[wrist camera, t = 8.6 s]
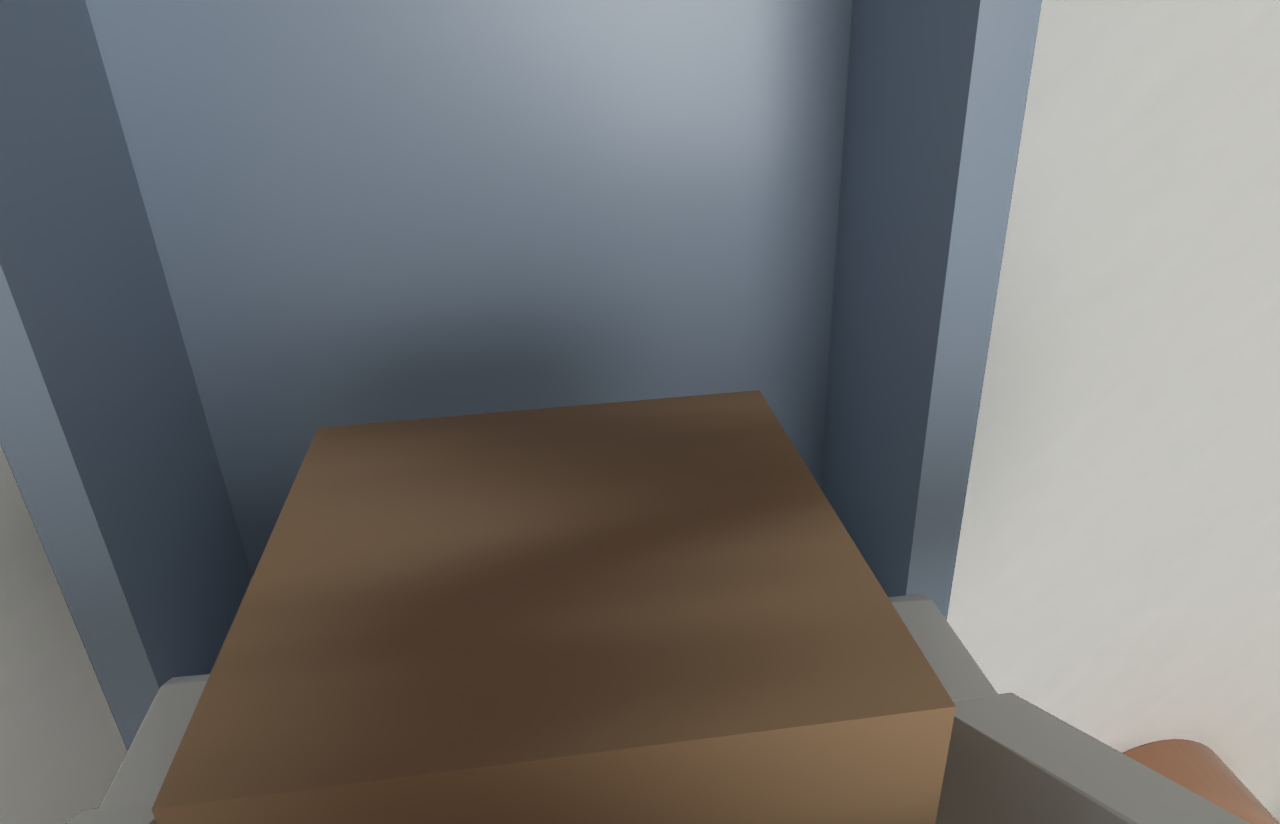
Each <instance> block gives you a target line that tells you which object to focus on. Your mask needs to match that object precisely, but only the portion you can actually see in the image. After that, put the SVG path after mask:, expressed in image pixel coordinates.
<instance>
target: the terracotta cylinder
mask: <svg viewBox="0 0 1280 824" xmlns="http://www.w3.org/2000/svg"><path fill="white" fill-rule="evenodd" d="M1123 754H1124V755H1126V756H1128V757H1130V758H1132V759H1134V760H1135V761H1137V762H1139V763H1141V764H1143V765H1144V766H1146V767H1148V768H1150V769H1152V770H1154V771H1155V772H1157V773H1159V774H1161V775H1163V776H1165V777H1166V778H1168V779H1170V780H1172V781H1174V782H1176V783H1177V784H1179V785H1181V786H1183V787H1185V788H1187V789H1188V790H1190V791H1192V792H1194V793H1196V794H1197V795H1199V796H1201V797H1203V798H1205V799H1207V800H1208V801H1210V802H1212V803H1214V804H1216V805H1218V806H1219V807H1221V808H1223V809H1225V810H1227V811H1229V812H1230V813H1232V814H1234V815H1236V816H1238V817H1239V818H1241V819H1243V820H1245V821H1247V822H1249V823H1250V824H1280V823H1279V822H1278V821H1277V820H1276V819H1275V818H1274V817H1273V816H1272V815H1271V814H1270V812H1269V811H1268V810H1267V809H1266V808H1265V807H1264V806H1263V805H1262V804H1261V803H1260V802H1259V801H1258V799H1257V798H1256V797H1255V796H1254V795H1253V794H1252V793H1251V792H1250V791H1249V790H1248V789H1247V787H1246V786H1245V785H1244V784H1243V783H1242V782H1241V781H1240V780H1239V779H1238V778H1237V777H1236V776H1235V774H1234V773H1233V772H1232V771H1231V770H1230V769H1229V768H1228V767H1227V766H1226V765H1225V764H1224V763H1223V761H1222V760H1221V759H1220V758H1219V757H1218V756H1217V755H1216V754H1215V753H1214V752H1213V751H1212V750H1211V749H1210V748H1208V747H1207V746H1205V745H1203V744H1200V743H1197V742H1194V741H1189V740H1162V741H1157V742H1152V743H1148V744H1145V745H1141V746H1139V747H1136V748H1133V749H1131V750H1129V751H1126V752H1124V753H1123Z"/></svg>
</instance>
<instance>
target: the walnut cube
mask: <svg viewBox="0 0 1280 824" xmlns="http://www.w3.org/2000/svg"><path fill="white" fill-rule="evenodd" d="M955 709H956V706H955V704H954V703H953V701H952V699H951V698H950V696H949V694H948V693H947V691H946V690H945V688H944V686H943V685H942V683H941V682H940V680H939V678H938V677H937V675H936V674H935V672H934V670H933V669H932V667H931V665H930V664H929V662H928V661H927V659H926V657H925V656H924V654H923V653H922V651H921V649H920V648H919V646H918V645H917V643H916V641H915V640H914V638H913V636H912V635H911V633H910V632H909V630H908V628H907V627H906V625H905V624H904V622H903V620H902V619H901V617H900V616H899V614H898V612H897V611H896V609H895V608H894V606H893V604H892V603H891V601H890V599H889V598H888V596H887V595H886V593H885V591H884V590H883V588H882V587H881V585H880V583H879V582H878V580H877V579H876V577H875V575H874V574H873V572H872V570H871V569H870V567H869V566H868V564H867V562H866V561H865V559H864V558H863V556H862V554H861V553H860V551H859V550H858V548H857V546H856V545H855V543H854V541H853V540H852V538H851V537H850V535H849V533H848V532H847V530H846V529H845V527H844V525H843V524H842V522H841V521H840V519H839V517H838V516H837V514H836V512H835V511H834V509H833V508H832V506H831V504H830V503H829V501H828V500H827V498H826V496H825V495H824V493H823V492H822V490H821V488H820V487H819V485H818V484H817V482H816V480H815V479H814V477H813V475H812V474H811V472H810V471H809V469H808V467H807V466H806V464H805V463H804V461H803V459H802V458H801V456H800V455H799V453H798V451H797V450H796V448H795V446H794V445H793V443H792V442H791V440H790V438H789V437H788V435H787V434H786V432H785V430H784V429H783V427H782V426H781V424H780V422H779V421H778V419H777V417H776V416H775V414H774V413H773V411H772V409H771V408H770V406H769V405H768V403H767V401H766V400H765V398H764V397H763V395H762V393H761V392H760V390H755V391H743V392H731V393H719V394H708V395H696V396H684V397H672V398H661V399H649V400H637V401H625V402H613V403H602V404H590V405H578V406H566V407H555V408H543V409H531V410H519V411H507V412H496V413H484V414H472V415H460V416H449V417H437V418H425V419H413V420H402V421H390V422H378V423H366V424H354V425H343V426H331V427H319V428H317V430H316V432H315V435H314V437H313V439H312V442H311V444H310V446H309V448H308V451H307V453H306V455H305V458H304V460H303V462H302V464H301V467H300V469H299V471H298V474H297V476H296V478H295V481H294V483H293V485H292V487H291V490H290V492H289V494H288V497H287V499H286V501H285V504H284V506H283V508H282V510H281V513H280V515H279V517H278V520H277V522H276V524H275V527H274V529H273V531H272V533H271V536H270V538H269V540H268V543H267V545H266V547H265V550H264V552H263V554H262V556H261V559H260V561H259V563H258V566H257V568H256V570H255V573H254V575H253V577H252V579H251V582H250V584H249V586H248V589H247V591H246V593H245V595H244V598H243V600H242V602H241V605H240V607H239V609H238V612H237V614H236V616H235V618H234V621H233V623H232V625H231V628H230V630H229V632H228V635H227V637H226V639H225V641H224V644H223V646H222V648H221V651H220V653H219V655H218V658H217V660H216V662H215V664H214V667H213V669H212V671H211V674H210V676H209V678H208V681H207V683H206V685H205V687H204V690H203V692H202V694H201V697H200V699H199V701H198V704H197V706H196V708H195V710H194V713H193V715H192V717H191V720H190V722H189V724H188V726H187V729H186V731H185V733H184V736H183V738H182V740H181V743H180V745H179V747H178V749H177V752H176V754H175V756H174V759H173V761H172V763H171V766H170V768H169V770H168V772H167V775H166V777H165V779H164V782H163V784H162V786H161V789H160V791H159V793H158V795H157V798H156V800H155V802H154V805H153V807H152V809H151V810H152V813H153V815H154V818H155V820H156V823H157V824H935V822H936V817H937V811H938V805H939V800H940V794H941V788H942V783H943V777H944V771H945V766H946V760H947V754H948V749H949V743H950V737H951V732H952V726H953V721H954V715H955Z"/></svg>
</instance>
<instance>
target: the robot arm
mask: <svg viewBox="0 0 1280 824" xmlns="http://www.w3.org/2000/svg"><path fill="white" fill-rule="evenodd" d="M889 599H890V601H891V603H892V604H893V606H894V608H895V609H896V611H897V612H898V614H899V616H900V617H901V619H902V620H903V622H904V624H905V625H906V627H907V628H908V630H909V632H910V633H911V635H912V636H913V638H914V640H915V641H916V643H917V645H918V646H919V648H920V649H921V651H922V653H923V654H924V656H925V657H926V659H927V661H928V662H929V664H930V665H931V667H932V669H933V670H934V672H935V674H936V675H937V677H938V678H939V680H940V682H941V683H942V685H943V686H944V688H945V690H946V691H947V693H948V694H949V696H950V698H951V699H952V701H953V703H954V704H955V706H956V709H955V715H954V721H953V726H952V732H951V737H950V743H949V749H948V754H947V760H946V766H945V771H944V777H943V783H942V788H941V794H940V800H939V805H938V811H937V817H936V822H935V824H1250V823H1249V822H1247V821H1245V820H1243V819H1241V818H1239V817H1238V816H1236V815H1234V814H1232V813H1230V812H1229V811H1227V810H1225V809H1223V808H1221V807H1219V806H1218V805H1216V804H1214V803H1212V802H1210V801H1208V800H1207V799H1205V798H1203V797H1201V796H1199V795H1197V794H1196V793H1194V792H1192V791H1190V790H1188V789H1187V788H1185V787H1183V786H1181V785H1179V784H1177V783H1176V782H1174V781H1172V780H1170V779H1168V778H1166V777H1165V776H1163V775H1161V774H1159V773H1157V772H1155V771H1154V770H1152V769H1150V768H1148V767H1146V766H1144V765H1143V764H1141V763H1139V762H1137V761H1135V760H1134V759H1132V758H1130V757H1128V756H1126V755H1124V754H1123V753H1121V752H1119V751H1117V750H1115V749H1113V748H1112V747H1110V746H1108V745H1106V744H1104V743H1102V742H1101V741H1099V740H1097V739H1095V738H1093V737H1091V736H1090V735H1088V734H1086V733H1084V732H1082V731H1081V730H1079V729H1077V728H1075V727H1073V726H1071V725H1070V724H1068V723H1066V722H1064V721H1062V720H1060V719H1059V718H1057V717H1055V716H1053V715H1051V714H1049V713H1048V712H1046V711H1044V710H1042V709H1040V708H1039V707H1037V706H1035V705H1033V704H1031V703H1029V702H1028V701H1026V700H1024V699H1022V698H1020V697H1018V696H1017V695H1015V694H1013V693H1005V694H998V693H997V692H996V690H995V689H994V687H993V686H992V684H991V683H990V682H989V680H988V679H987V677H986V676H985V674H984V673H983V672H982V670H981V669H980V667H979V666H978V665H977V663H976V662H975V660H974V659H973V657H972V656H971V655H970V653H969V652H968V650H967V649H966V648H965V646H964V645H963V643H962V642H961V640H960V639H959V638H958V636H957V635H956V633H955V632H954V630H953V629H952V628H951V626H950V625H949V623H948V622H947V621H946V619H945V618H944V616H943V615H942V613H941V612H940V611H939V609H938V608H937V606H936V605H935V604H934V602H933V601H932V599H931V598H930V597H928V596H926V595H925V594H923V593H919V594H911V595H904V596H897V597H889ZM209 676H210V674H205V675H194V676H184V677H173V678H171V679H170V680H169V681H167V682H166V683H165V684H163V685H162V686H161V687H160V689H159V691H158V692H157V694H156V696H155V698H154V700H153V702H152V704H151V706H150V708H149V710H148V712H147V714H146V716H145V718H144V720H143V722H142V724H141V726H140V728H139V730H138V732H137V734H136V736H135V738H134V740H133V742H132V744H131V746H130V748H129V750H128V752H127V754H126V756H125V758H124V760H123V762H122V763H121V765H120V767H119V769H118V771H117V773H116V775H115V777H114V779H113V781H112V783H111V785H110V787H109V789H108V791H107V793H106V795H105V797H104V799H103V801H102V803H101V805H100V807H99V808H96V809H89V810H82V811H81V812H80V813H79V814H77V815H76V816H75V817H74V818H72V819H71V820H70V821H69V822H67V823H66V824H157V823H156V820H155V818H154V815H153V813H152V810H151V809H152V807H153V805H154V802H155V800H156V798H157V795H158V793H159V791H160V789H161V786H162V784H163V782H164V779H165V777H166V775H167V772H168V770H169V768H170V766H171V763H172V761H173V759H174V756H175V754H176V752H177V749H178V747H179V745H180V743H181V740H182V738H183V736H184V733H185V731H186V729H187V726H188V724H189V722H190V720H191V717H192V715H193V713H194V710H195V708H196V706H197V704H198V701H199V699H200V697H201V694H202V692H203V690H204V687H205V685H206V683H207V681H208V678H209Z"/></svg>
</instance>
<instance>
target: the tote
mask: <svg viewBox="0 0 1280 824" xmlns="http://www.w3.org/2000/svg"><path fill="white" fill-rule="evenodd" d="M1041 3H1042V0H0V444H1V446H2V448H3V451H4V453H5V456H6V458H7V460H8V463H9V465H10V468H11V470H12V473H13V475H14V477H15V480H16V482H17V485H18V487H19V490H20V492H21V494H22V497H23V499H24V502H25V504H26V506H27V509H28V511H29V514H30V516H31V519H32V521H33V523H34V526H35V528H36V531H37V533H38V535H39V538H40V540H41V543H42V545H43V548H44V550H45V552H46V555H47V557H48V560H49V562H50V565H51V567H52V569H53V572H54V574H55V577H56V579H57V581H58V584H59V586H60V589H61V591H62V594H63V596H64V598H65V601H66V603H67V606H68V608H69V610H70V613H71V615H72V618H73V620H74V623H75V625H76V627H77V630H78V632H79V635H80V637H81V639H82V642H83V644H84V647H85V649H86V652H87V654H88V656H89V659H90V661H91V664H92V666H93V669H94V671H95V673H96V676H97V678H98V681H99V683H100V685H101V688H102V690H103V693H104V695H105V698H106V700H107V702H108V705H109V707H110V710H111V712H112V714H113V717H114V719H115V722H116V724H117V727H118V729H119V731H120V734H121V736H122V739H123V741H124V744H125V746H126V748H127V751H128V750H129V748H130V746H131V744H132V742H133V740H134V738H135V736H136V734H137V732H138V730H139V728H140V726H141V724H142V722H143V720H144V718H145V716H146V714H147V712H148V710H149V708H150V706H151V704H152V702H153V700H154V698H155V696H156V694H157V692H158V691H159V689H160V687H161V686H162V685H163V684H165V683H166V682H167V681H169V680H170V679H171V678H173V677H184V676H194V675H205V674H211V671H212V669H213V667H214V664H215V662H216V660H217V658H218V655H219V653H220V651H221V648H222V646H223V644H224V641H225V639H226V637H227V635H228V632H229V630H230V628H231V625H232V623H233V621H234V618H235V616H236V614H237V612H238V609H239V607H240V605H241V602H242V600H243V598H244V595H245V593H246V591H247V589H248V586H249V584H250V582H251V579H252V577H253V575H254V573H255V570H256V568H257V566H258V563H259V561H260V559H261V556H262V554H263V552H264V550H265V547H266V545H267V543H268V540H269V538H270V536H271V533H272V531H273V529H274V527H275V524H276V522H277V520H278V517H279V515H280V513H281V510H282V508H283V506H284V504H285V501H286V499H287V497H288V494H289V492H290V490H291V487H292V485H293V483H294V481H295V478H296V476H297V474H298V471H299V469H300V467H301V464H302V462H303V460H304V458H305V455H306V453H307V451H308V448H309V446H310V444H311V442H312V439H313V437H314V435H315V432H316V430H317V428H319V427H331V426H343V425H354V424H366V423H378V422H390V421H402V420H413V419H425V418H437V417H449V416H460V415H472V414H484V413H496V412H507V411H519V410H531V409H543V408H555V407H566V406H578V405H590V404H602V403H613V402H625V401H637V400H649V399H661V398H672V397H684V396H696V395H708V394H719V393H731V392H743V391H755V390H760V392H761V393H762V395H763V397H764V398H765V400H766V401H767V403H768V405H769V406H770V408H771V409H772V411H773V413H774V414H775V416H776V417H777V419H778V421H779V422H780V424H781V426H782V427H783V429H784V430H785V432H786V434H787V435H788V437H789V438H790V440H791V442H792V443H793V445H794V446H795V448H796V450H797V451H798V453H799V455H800V456H801V458H802V459H803V461H804V463H805V464H806V466H807V467H808V469H809V471H810V472H811V474H812V475H813V477H814V479H815V480H816V482H817V484H818V485H819V487H820V488H821V490H822V492H823V493H824V495H825V496H826V498H827V500H828V501H829V503H830V504H831V506H832V508H833V509H834V511H835V512H836V514H837V516H838V517H839V519H840V521H841V522H842V524H843V525H844V527H845V529H846V530H847V532H848V533H849V535H850V537H851V538H852V540H853V541H854V543H855V545H856V546H857V548H858V550H859V551H860V553H861V554H862V556H863V558H864V559H865V561H866V562H867V564H868V566H869V567H870V569H871V570H872V572H873V574H874V575H875V577H876V579H877V580H878V582H879V583H880V585H881V587H882V588H883V590H884V591H885V593H886V595H887V596H888V598H889V597H897V596H904V595H911V594H919V593H923V594H925V595H926V596H928V597H930V598H931V599H932V601H933V602H934V604H935V605H936V606H937V608H938V609H939V611H940V612H941V613H942V615H943V616H944V618H945V619H946V620H947V614H948V607H949V601H950V594H951V588H952V581H953V575H954V568H955V562H956V555H957V549H958V542H959V536H960V529H961V523H962V516H963V510H964V503H965V497H966V490H967V484H968V477H969V471H970V464H971V458H972V451H973V445H974V438H975V432H976V425H977V419H978V412H979V406H980V399H981V393H982V386H983V380H984V373H985V367H986V360H987V354H988V347H989V341H990V334H991V328H992V321H993V315H994V308H995V302H996V295H997V289H998V282H999V276H1000V269H1001V263H1002V256H1003V250H1004V243H1005V237H1006V230H1007V224H1008V217H1009V211H1010V204H1011V198H1012V191H1013V185H1014V178H1015V172H1016V165H1017V159H1018V152H1019V146H1020V139H1021V133H1022V126H1023V120H1024V113H1025V107H1026V100H1027V94H1028V87H1029V81H1030V74H1031V68H1032V61H1033V55H1034V48H1035V42H1036V35H1037V29H1038V22H1039V16H1040V9H1041Z"/></svg>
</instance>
